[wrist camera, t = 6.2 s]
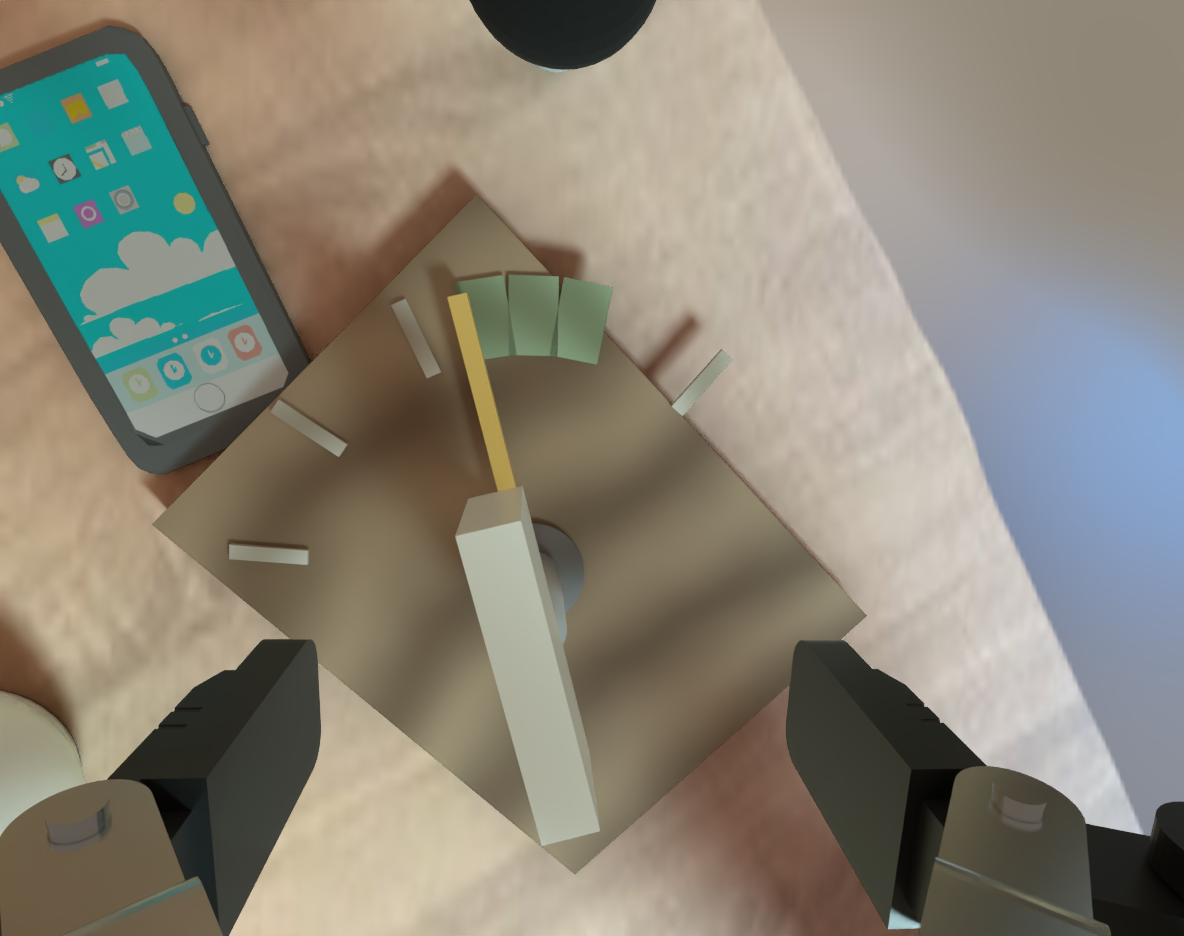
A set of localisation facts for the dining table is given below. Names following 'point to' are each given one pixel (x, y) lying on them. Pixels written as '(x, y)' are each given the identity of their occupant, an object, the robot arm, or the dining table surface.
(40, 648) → the dining table surface
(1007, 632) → the dining table surface
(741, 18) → the dining table surface
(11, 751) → the lidded bowl
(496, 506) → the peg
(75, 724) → the dining table surface
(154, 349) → the smartphone
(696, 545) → the tuner board
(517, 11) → the light bulb
